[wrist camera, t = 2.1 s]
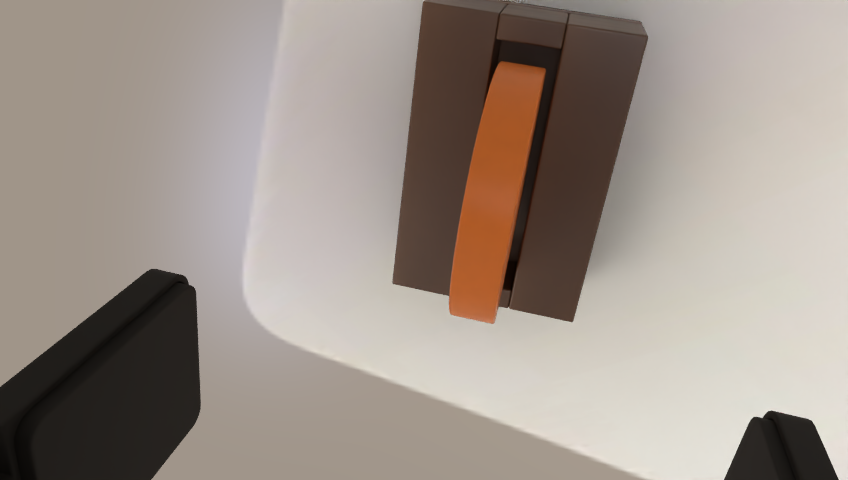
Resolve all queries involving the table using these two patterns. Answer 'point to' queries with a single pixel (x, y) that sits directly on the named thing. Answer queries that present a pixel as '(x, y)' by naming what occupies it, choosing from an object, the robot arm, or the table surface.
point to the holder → (551, 148)
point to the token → (494, 190)
